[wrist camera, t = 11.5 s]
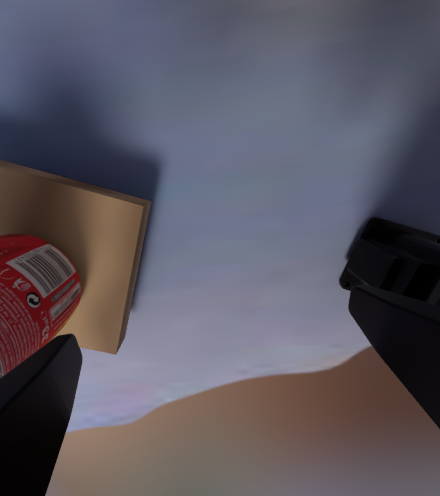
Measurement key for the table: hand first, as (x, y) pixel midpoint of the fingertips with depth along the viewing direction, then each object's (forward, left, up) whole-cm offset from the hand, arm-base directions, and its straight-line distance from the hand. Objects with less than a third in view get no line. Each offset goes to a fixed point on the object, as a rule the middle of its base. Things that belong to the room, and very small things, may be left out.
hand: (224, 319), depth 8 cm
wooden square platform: (+11, +5, -13) cm, 18 cm away
